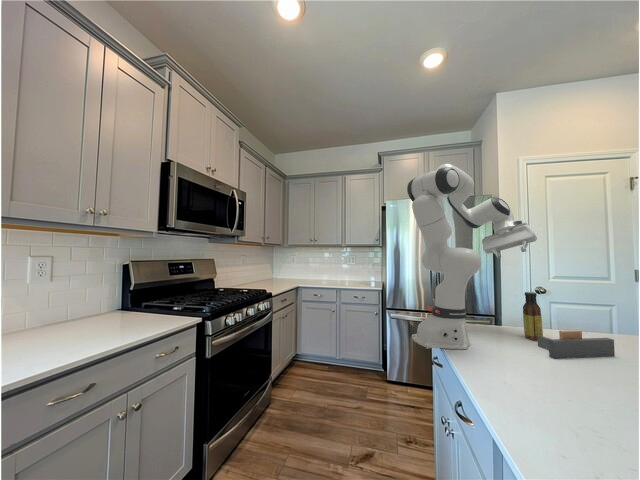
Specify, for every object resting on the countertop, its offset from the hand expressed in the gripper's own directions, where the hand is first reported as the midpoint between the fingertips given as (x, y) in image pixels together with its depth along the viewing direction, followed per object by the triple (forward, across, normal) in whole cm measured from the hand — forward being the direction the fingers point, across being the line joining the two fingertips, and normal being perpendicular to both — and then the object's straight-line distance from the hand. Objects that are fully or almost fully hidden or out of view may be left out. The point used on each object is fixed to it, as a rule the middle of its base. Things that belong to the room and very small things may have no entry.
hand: (511, 254), depth 113 cm
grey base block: (+33, +4, +22) cm, 40 cm away
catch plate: (+34, +6, +21) cm, 40 cm away
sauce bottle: (+26, -6, +27) cm, 38 cm away
